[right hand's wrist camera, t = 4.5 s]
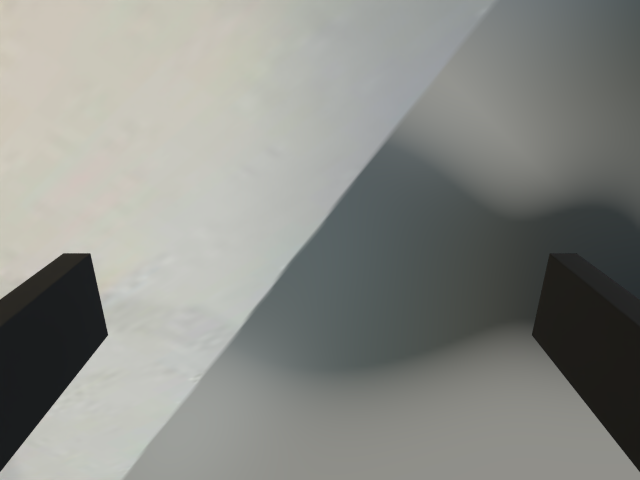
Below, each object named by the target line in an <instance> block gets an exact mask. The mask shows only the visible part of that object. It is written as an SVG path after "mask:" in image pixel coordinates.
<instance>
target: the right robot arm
mask: <svg viewBox="0 0 640 480" xmlns="http://www.w3.org/2000/svg"><path fill="white" fill-rule="evenodd" d="M107 336H108V332H107V328H106V323H105V319H104V314H103V309H102V305H101V300H100V296H99V291H98V287H97V282H96V277H95V273H94V268H93V264H92V259H91V254H90V253H63V254H62V255H61V256H59V257H58V258H57V259H55V260H54V261H53V262H51V263H50V264H48V265H47V266H46V267H44V268H43V269H42V270H40V271H39V272H37V273H36V274H35V275H33V276H32V277H31V278H29V279H28V280H26V281H25V282H24V283H22V284H21V285H20V286H18V287H17V288H16V289H14V290H13V291H11V292H10V293H9V294H7V295H6V296H5V297H3V298H2V299H0V471H1V470H2V469H3V468H4V466H5V465H6V464H7V463H8V461H9V460H10V459H11V457H12V456H13V455H14V454H15V452H16V451H17V450H18V449H19V447H20V446H21V445H22V444H23V442H24V441H25V440H26V438H27V437H28V436H29V435H30V433H31V432H32V431H33V430H34V428H35V427H36V426H37V425H38V423H39V422H40V421H41V419H42V418H43V417H44V416H45V414H46V413H47V412H48V411H49V409H50V408H51V407H52V405H53V404H54V403H55V402H56V400H57V399H58V398H59V397H60V395H61V394H62V393H63V392H64V390H65V389H66V388H67V386H68V385H69V384H70V383H71V381H72V380H73V379H74V378H75V376H76V375H77V374H78V373H79V371H80V370H81V369H82V367H83V366H84V365H85V364H86V362H87V361H88V360H89V359H90V357H91V356H92V355H93V353H94V352H95V351H96V350H97V348H98V347H99V346H100V345H101V343H102V342H103V341H104V340H105V338H106V337H107ZM532 336H533V337H534V338H535V340H536V341H537V342H538V343H539V345H540V346H541V347H542V348H543V350H544V351H545V352H546V353H547V355H548V356H549V357H550V359H551V360H552V361H553V362H554V364H555V365H556V366H557V367H558V369H559V370H560V371H561V373H562V374H563V375H564V376H565V378H566V379H567V380H568V381H569V383H570V384H571V385H572V386H573V388H574V389H575V390H576V391H577V393H578V394H579V395H580V397H581V398H582V399H583V400H584V402H585V403H586V404H587V405H588V407H589V408H590V409H591V411H592V412H593V413H594V414H595V416H596V417H597V418H598V419H599V421H600V422H601V423H602V425H603V426H604V427H605V428H606V430H607V431H608V432H609V433H610V435H611V436H612V437H613V438H614V440H615V441H616V442H617V444H618V445H619V446H620V447H621V449H622V450H623V451H624V452H625V454H626V455H627V456H628V457H629V459H630V460H631V461H632V463H633V464H634V465H635V466H636V468H637V469H638V470H639V471H640V299H638V298H637V297H635V296H634V295H633V294H631V293H630V292H629V291H627V290H626V289H624V288H623V287H622V286H620V285H619V284H618V283H616V282H615V281H614V280H612V279H611V278H609V277H608V276H607V275H605V274H604V273H602V272H601V271H600V270H598V269H597V268H596V267H594V266H593V265H592V264H590V263H589V262H587V261H586V260H585V259H583V258H582V257H581V256H579V255H578V254H575V253H568V254H567V253H565V254H564V253H559V254H558V253H553V254H552V253H551V254H549V259H548V264H547V268H546V273H545V278H544V282H543V287H542V291H541V296H540V300H539V305H538V310H537V314H536V319H535V323H534V328H533V333H532Z"/></svg>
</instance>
